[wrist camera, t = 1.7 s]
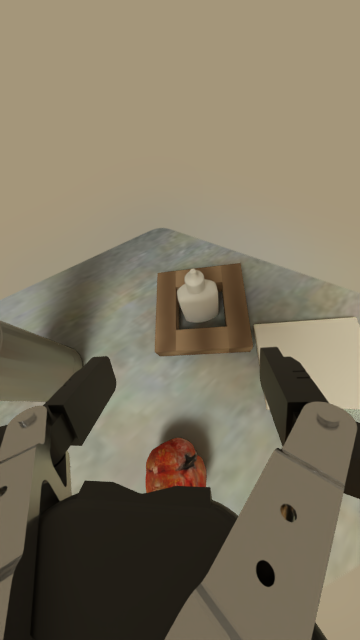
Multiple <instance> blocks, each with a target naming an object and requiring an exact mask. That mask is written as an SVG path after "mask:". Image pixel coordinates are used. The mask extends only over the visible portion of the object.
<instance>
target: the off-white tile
mask: <svg viewBox="0 0 360 640" xmlns="http://www.w3.org/2000/svg"><path fill="white" fill-rule="evenodd" d="M253 328H254V334H255V341H256V347H257V353H258V359H259V366H260V348H263V347H278V348H279V350H280V352H281V353H282V355H283V357H290V356H291V357H292V358H294V359H295V360H297V361H298V362H300V363H301V364H302V366H303V367H304V369H305V370H306V372H307V373H308V374H309V376H310V378H311V379H312V380H313V381H314V382H315V384H316V385H317V387H318V388H319V389H320V391H321V392H322V394H323V395H324V396H325V398H326V399H327V401H328V402H329V403H330V404H333V405H335V406H338V407H340V408H341V409H360V326H359V323H358V321H357V318H356V317H351V318H337V319H323V320H309V321H296V322H282V323H268V324H254V326H253ZM264 397H265V395H264ZM265 403H266V410H270V409H269V406H268V403H267V400H266V398H265Z"/></svg>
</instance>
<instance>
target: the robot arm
mask: <svg viewBox="0 0 360 640" xmlns="http://www.w3.org/2000/svg"><path fill="white" fill-rule="evenodd" d="M260 381H261V386H262V389H263V392H264V395H265V398H266V400H267V403H268V406H269V409H270V412H271V415H272V417H273V420H274V423H275V426H276V429H277V432H278V434H279V437H280V440H281V443H282V446H283V448H282V449H279V448H277V449H275V451H274V452H273V453H272V455H271V457H270V459H269V461H268V463H267V464H266V466H265V468H264V470H263V472H262V474H261V476H260V477H259V479H258V481H257V483H256V485H255V487H254V489H253V490H252V492H251V494H250V496H249V498H248V500H247V501H246V503H245V505H244V507H243V509H242V511H241V513H240V514H239V516H238V515H237V514H235V513H234V512H233V511H231V510H230V509H229V508H227V507H226V506H224V505H222V504H220V503H218V502H216V501H213V500H212V496H211V489H210V487H193V486H173V487H169V488H165V489H161V490H157V491H153V492H149V493H144V494H140V493H137V492H135V491H133V490H130V489H128V488H126V487H123V486H121V485H119V484H116V483H114V482H100V481H84V483H83V485H82V487H81V489H80V491H79V493H78V494H75V495H72V492H71V475H70V457H69V453H68V451H67V450H68V448H69V447H70V445H73V446H82V444H83V443H84V441H85V439H86V438H87V436H88V434H89V433H90V431H91V429H92V428H93V426H94V424H95V423H96V421H97V419H98V418H99V416H100V414H101V413H102V411H103V409H104V408H105V406H106V404H107V403H108V401H109V399H110V398H111V396H112V394H113V393H114V391H115V388H116V378H115V375H114V372H113V369H112V365H111V362H110V359H109V358H108V357H107V356H103V357H93V358H91V359H90V360H89V362H88V363H87V364H86V365H85V366H84V367H83V368H82V360H81V357H80V355H79V354H78V352H77V351H75V350H74V349H72V348H70V347H67V346H65V345H62V344H59V343H57V342H55V341H52V340H49V339H47V338H44V337H42V336H39V335H36V334H34V333H31V332H29V331H26V330H23V329H21V328H18V327H16V326H13V325H10V324H8V323H5V322H3V321H0V401H30V402H46V403H45V404H44V405H43V406H35V407H32V408H29V409H27V410H25V411H23V412H22V413H20V414H19V415H17V416H16V417H15V418H13V419H12V420H11V421H10V423H9V424H8V425H5V426H1V427H0V640H327V639H326V637H325V636H324V635H323V633H322V631H321V630H320V628H319V627H318V626H317V624H316V623H315V620H316V615H317V611H318V606H319V602H320V597H321V592H322V588H323V583H324V579H325V574H326V570H327V565H328V561H329V556H330V552H331V547H332V542H333V538H334V533H335V529H336V524H337V520H338V515H339V511H340V506H341V502H342V497H343V493H345V494H347V495H350V496H353V497H356V498H359V499H360V423H358V422H355V420H354V419H353V417H352V416H351V415H350V414H349V413H347V412H346V411H345V410H343V409H341V408H340V407H338V406H335V405H333V404H330V403H329V402H328V401H327V399H326V398H325V396H324V395H323V394H322V392H321V391H320V389H319V388H318V387H317V385H316V384H315V382H314V381H313V380H312V379H311V378H310V376H309V374H308V373H307V372H306V370H305V369H304V367H303V366H302V364H301V363H300V362H298V361H297V360H295V359H294V358H292V357H291V356H290V357H283V355H282V353H281V352H280V350H279V348H278V347H263V348H260Z"/></svg>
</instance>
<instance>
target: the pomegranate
mask: <svg viewBox="0 0 360 640" xmlns="http://www.w3.org/2000/svg"><path fill="white" fill-rule="evenodd" d="M173 486H193V487H206V468H205V465H204V463H203V460H202V458H201V457H199V456H198V455H197V451H196V452H195V449H194V447H193V445H192V443H190V442H189V441H188V440H185V439H182V438H175V439H171V440H169V441H167V442H165V443H163V444H161V445H159V446H158V447H156V448H155V449H153V450H152V451H151V453H150V455H149V457H148V459H147V462H146V492H147V493H149V492H153V491H157V490H161V489H165V488H169V487H173Z"/></svg>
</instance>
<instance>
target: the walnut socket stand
mask: <svg viewBox="0 0 360 640" xmlns="http://www.w3.org/2000/svg"><path fill="white" fill-rule="evenodd" d="M190 270H191V269H188V270H180V271H171V272H163V273H158V279H157V306H156V333H155V353H157V354H158V355H159V356H176V355H195V354H215V353H234V352H250V351H251V349H252V348H253V342H252V336H251V329H250V322H249V316H248V309H247V303H246V296H245V290H244V283H243V277H242V270H241V264H240V263H238V264H230V265H221V266H213V267H205V268H196V269H195V270H198V271H200V272H202V273H203V275H204V279H206V280H211V281H213V282H215V283H216V286H217V290H218V292H222V295H223V304H224V314H225V324H226V326H225V327H212V328H198V329H184V330H179V301H178V296H177V290H178V289H179V288H180V287H181V286H182V285H184V284H185V275H186V274H187V273H188V272H189V271H190Z"/></svg>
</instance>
